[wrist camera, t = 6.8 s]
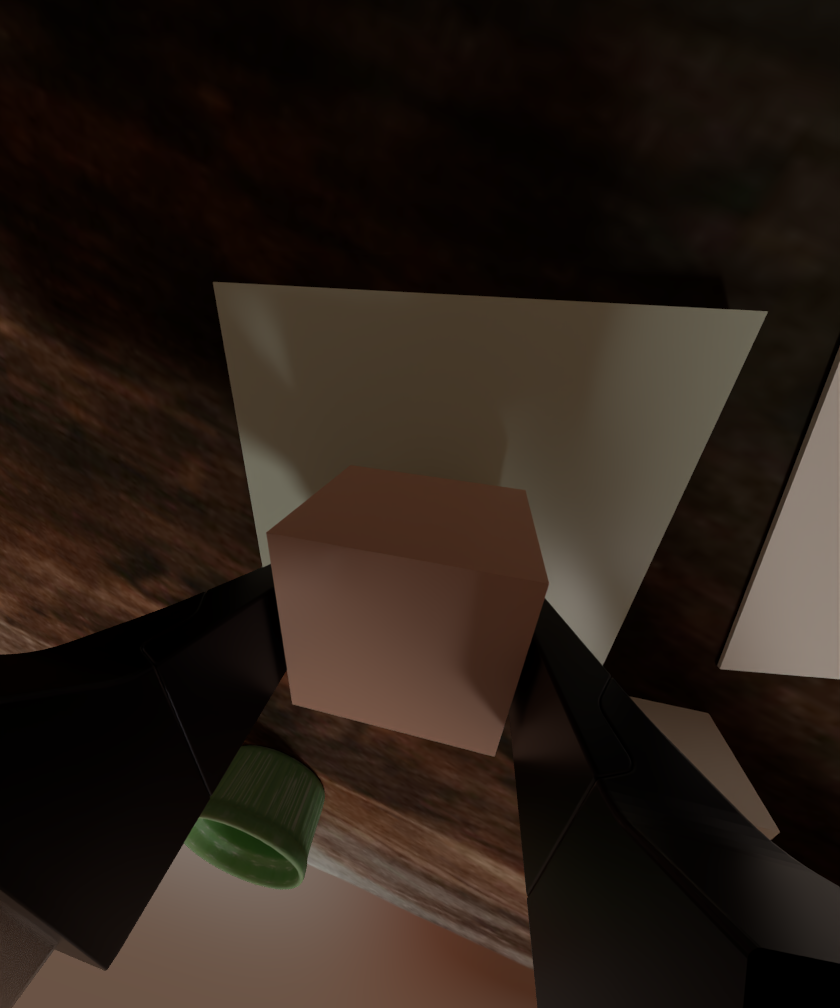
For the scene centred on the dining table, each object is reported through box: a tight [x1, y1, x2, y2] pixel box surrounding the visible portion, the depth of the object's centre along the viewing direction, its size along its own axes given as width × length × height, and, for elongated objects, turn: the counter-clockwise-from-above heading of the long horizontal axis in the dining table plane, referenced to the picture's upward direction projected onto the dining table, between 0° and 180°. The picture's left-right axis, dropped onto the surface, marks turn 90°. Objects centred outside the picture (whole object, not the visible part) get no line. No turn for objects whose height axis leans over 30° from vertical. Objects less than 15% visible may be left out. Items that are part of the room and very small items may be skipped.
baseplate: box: [213, 282, 768, 665], centre depth 12 cm, size 14×14×1 cm
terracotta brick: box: [266, 465, 549, 757], centre depth 8 cm, size 5×5×4 cm
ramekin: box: [184, 745, 325, 889], centre depth 22 cm, size 9×9×4 cm
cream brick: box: [629, 696, 780, 840], centre depth 14 cm, size 5×5×4 cm
